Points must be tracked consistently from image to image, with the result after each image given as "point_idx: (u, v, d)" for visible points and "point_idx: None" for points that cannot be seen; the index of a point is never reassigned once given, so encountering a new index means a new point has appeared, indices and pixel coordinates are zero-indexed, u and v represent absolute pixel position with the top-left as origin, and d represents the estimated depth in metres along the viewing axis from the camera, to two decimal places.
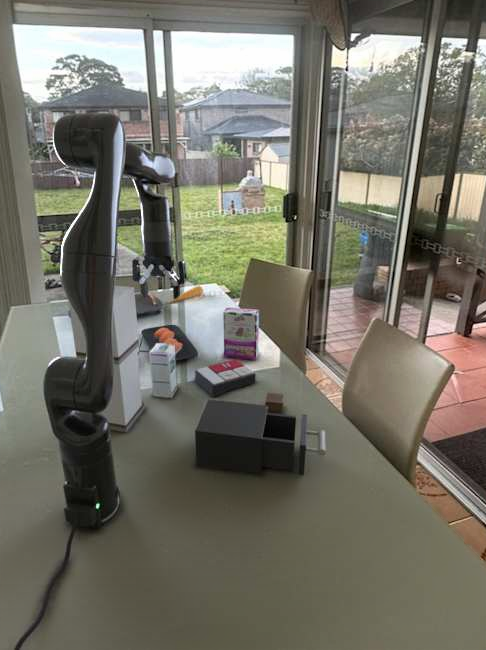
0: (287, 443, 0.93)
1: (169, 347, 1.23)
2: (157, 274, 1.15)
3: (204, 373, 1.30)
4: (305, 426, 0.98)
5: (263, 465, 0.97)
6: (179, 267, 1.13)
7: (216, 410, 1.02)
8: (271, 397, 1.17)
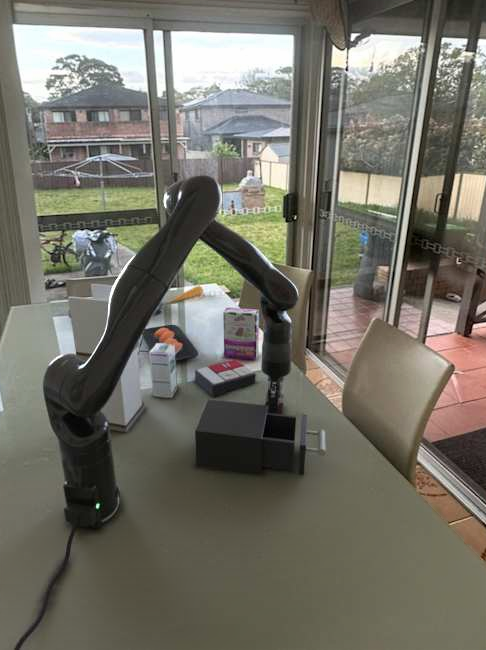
0: (287, 443, 0.93)
1: (169, 347, 1.23)
2: None
3: (204, 373, 1.30)
4: (305, 426, 0.98)
5: (263, 465, 0.97)
6: None
7: (216, 410, 1.02)
8: None
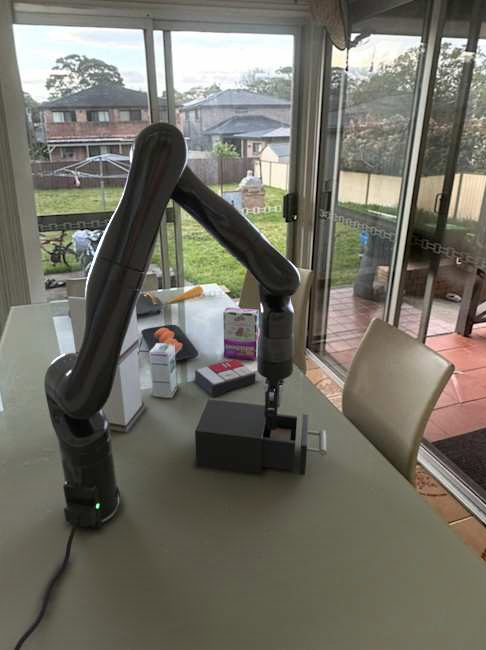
0: (288, 443, 0.93)
1: (169, 347, 1.23)
2: None
3: (204, 373, 1.30)
4: (306, 426, 0.98)
5: (264, 465, 0.97)
6: None
7: (216, 410, 1.02)
8: None
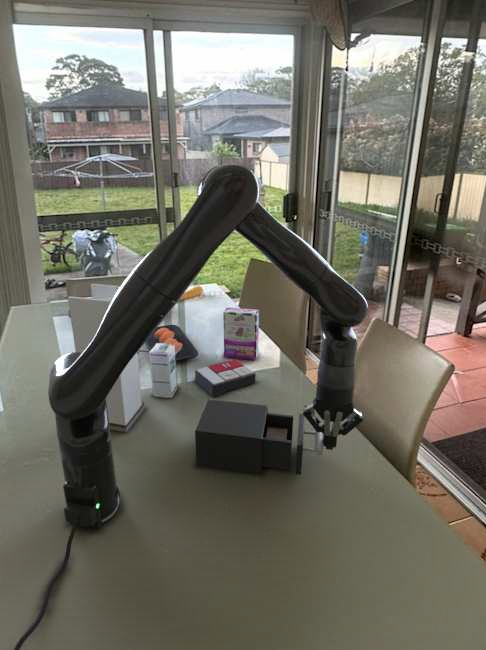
0: (284, 443, 0.93)
1: (169, 347, 1.23)
2: (331, 420, 0.94)
3: (204, 373, 1.30)
4: (302, 426, 0.98)
5: None
6: (355, 421, 0.92)
7: (216, 410, 1.02)
8: None
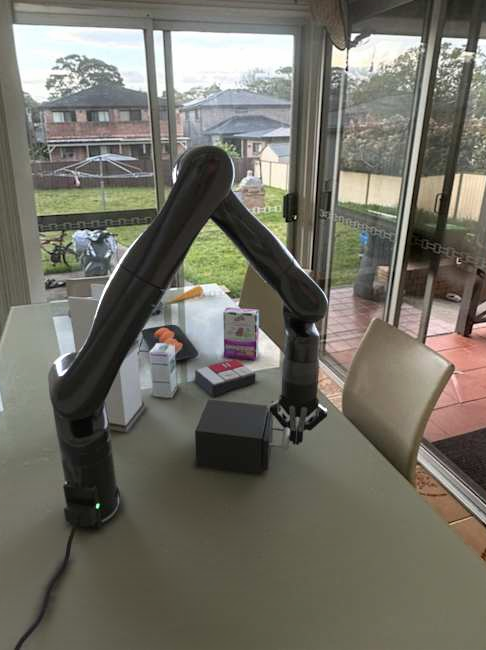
0: None
1: (169, 347, 1.23)
2: (296, 415, 0.95)
3: (204, 373, 1.30)
4: (270, 422, 0.99)
5: None
6: (320, 416, 0.94)
7: (216, 410, 1.02)
8: None
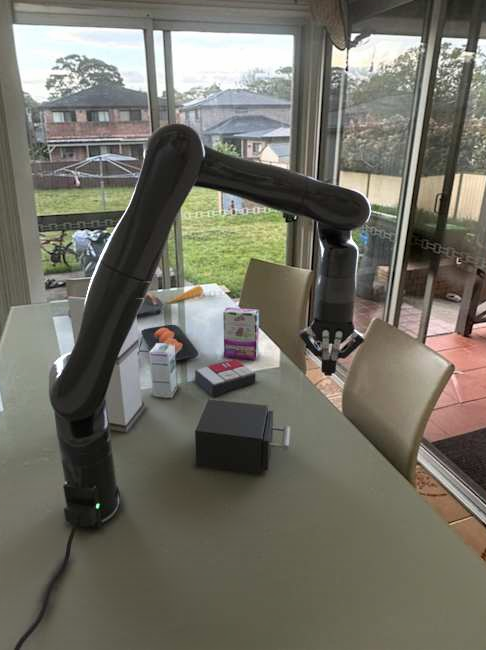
0: None
1: (169, 347, 1.23)
2: (330, 342, 0.88)
3: (204, 373, 1.30)
4: (270, 422, 0.99)
5: None
6: (356, 342, 0.86)
7: (216, 410, 1.02)
8: None
